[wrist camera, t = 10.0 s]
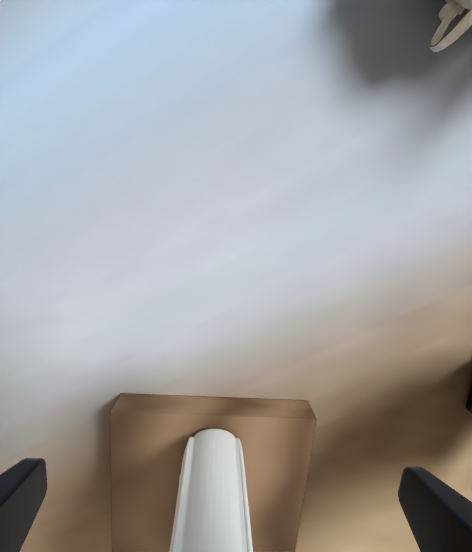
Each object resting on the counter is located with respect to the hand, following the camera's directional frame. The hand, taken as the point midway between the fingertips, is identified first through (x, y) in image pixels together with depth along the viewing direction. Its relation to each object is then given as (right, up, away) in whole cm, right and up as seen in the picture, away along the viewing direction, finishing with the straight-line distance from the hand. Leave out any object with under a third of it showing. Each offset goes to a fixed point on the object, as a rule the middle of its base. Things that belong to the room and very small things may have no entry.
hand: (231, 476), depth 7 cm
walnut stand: (-2, -10, +15) cm, 18 cm away
